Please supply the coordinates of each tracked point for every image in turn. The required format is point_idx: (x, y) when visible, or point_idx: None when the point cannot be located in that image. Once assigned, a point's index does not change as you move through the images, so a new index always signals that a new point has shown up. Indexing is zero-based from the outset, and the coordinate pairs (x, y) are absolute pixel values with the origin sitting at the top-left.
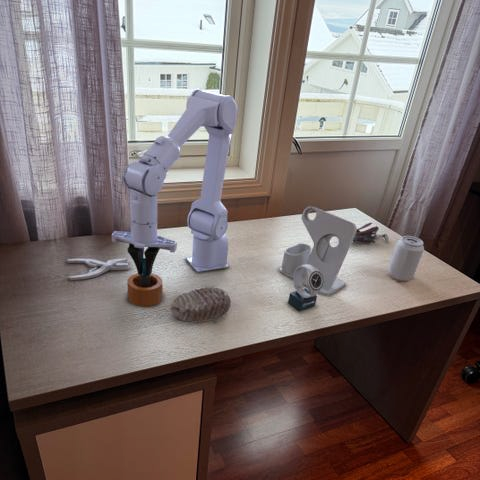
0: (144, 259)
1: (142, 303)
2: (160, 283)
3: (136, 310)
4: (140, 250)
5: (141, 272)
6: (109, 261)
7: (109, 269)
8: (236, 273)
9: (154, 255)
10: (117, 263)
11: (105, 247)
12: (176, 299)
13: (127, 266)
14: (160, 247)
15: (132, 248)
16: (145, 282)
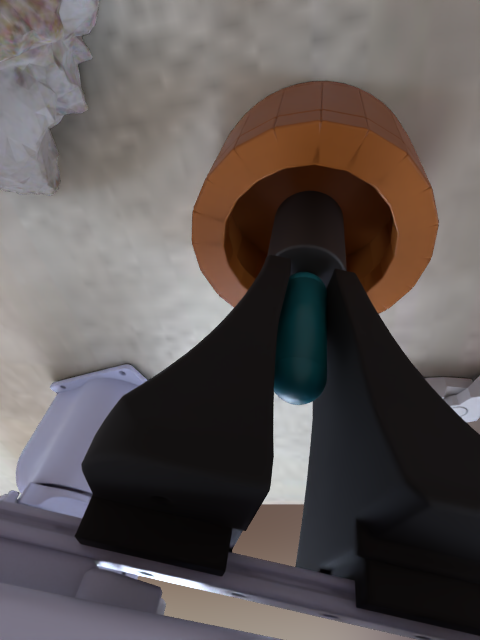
0: (297, 388)
1: (323, 84)
2: (200, 230)
3: (367, 15)
4: (339, 495)
5: (330, 289)
6: (470, 415)
7: (470, 380)
8: (12, 358)
9: (107, 417)
10: None
11: None
12: (7, 3)
13: None
14: (48, 536)
15: (467, 548)
16: (300, 223)
